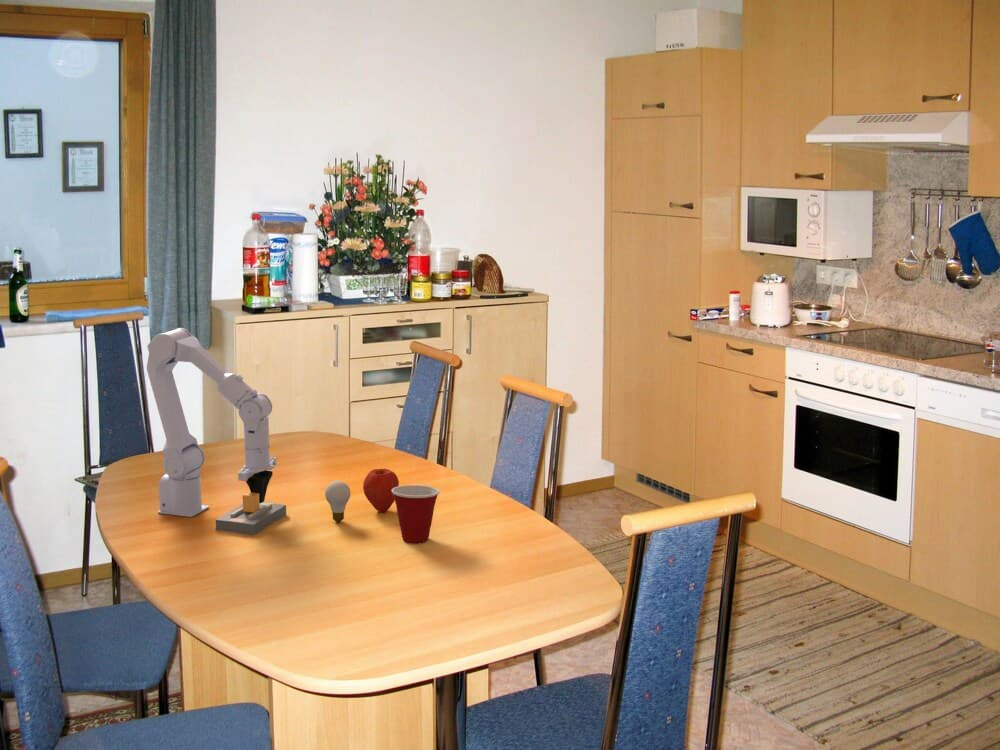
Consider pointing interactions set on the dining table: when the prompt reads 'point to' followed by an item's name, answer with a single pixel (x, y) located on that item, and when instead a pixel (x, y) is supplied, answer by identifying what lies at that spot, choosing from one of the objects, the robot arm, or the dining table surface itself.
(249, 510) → the handle
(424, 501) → the plastic cup
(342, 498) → the light bulb
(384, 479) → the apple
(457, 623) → the dining table surface
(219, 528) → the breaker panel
